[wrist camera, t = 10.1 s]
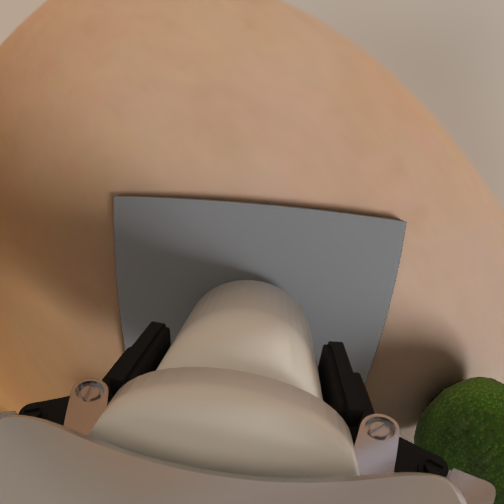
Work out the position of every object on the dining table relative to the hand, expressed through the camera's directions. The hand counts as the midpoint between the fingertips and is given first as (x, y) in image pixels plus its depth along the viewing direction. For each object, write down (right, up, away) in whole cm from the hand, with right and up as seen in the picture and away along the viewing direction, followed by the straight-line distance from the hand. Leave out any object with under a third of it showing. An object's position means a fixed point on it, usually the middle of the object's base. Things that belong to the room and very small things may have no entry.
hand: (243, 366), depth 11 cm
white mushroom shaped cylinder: (0, +1, +2) cm, 2 cm away
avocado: (+14, -6, +4) cm, 16 cm away
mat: (0, +1, +3) cm, 4 cm away
